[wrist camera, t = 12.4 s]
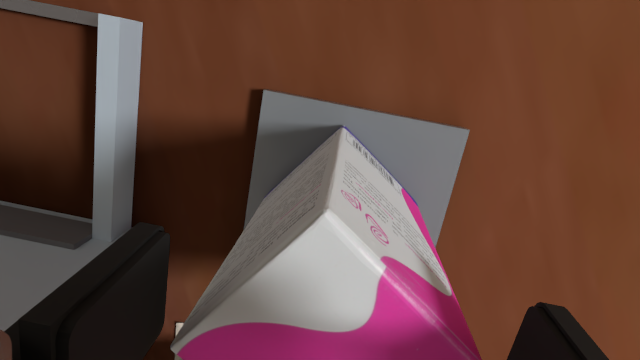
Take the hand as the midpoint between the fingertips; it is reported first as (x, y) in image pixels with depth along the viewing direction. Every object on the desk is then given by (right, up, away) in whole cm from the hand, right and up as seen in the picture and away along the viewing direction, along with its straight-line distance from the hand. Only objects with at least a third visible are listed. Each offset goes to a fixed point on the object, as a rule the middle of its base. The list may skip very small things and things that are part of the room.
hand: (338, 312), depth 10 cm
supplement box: (+1, +2, +10) cm, 11 cm away
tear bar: (-15, +12, +10) cm, 21 cm away
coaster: (+1, +2, +11) cm, 11 cm away
